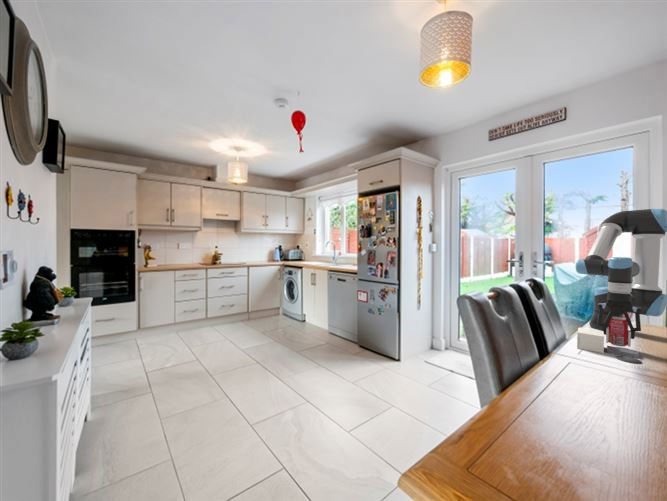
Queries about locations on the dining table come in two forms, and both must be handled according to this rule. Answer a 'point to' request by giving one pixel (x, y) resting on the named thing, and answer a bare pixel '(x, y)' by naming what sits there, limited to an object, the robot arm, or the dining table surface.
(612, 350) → the slate tile
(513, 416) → the dining table surface
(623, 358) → the coaster
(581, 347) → the large cream box
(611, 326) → the beverage can
